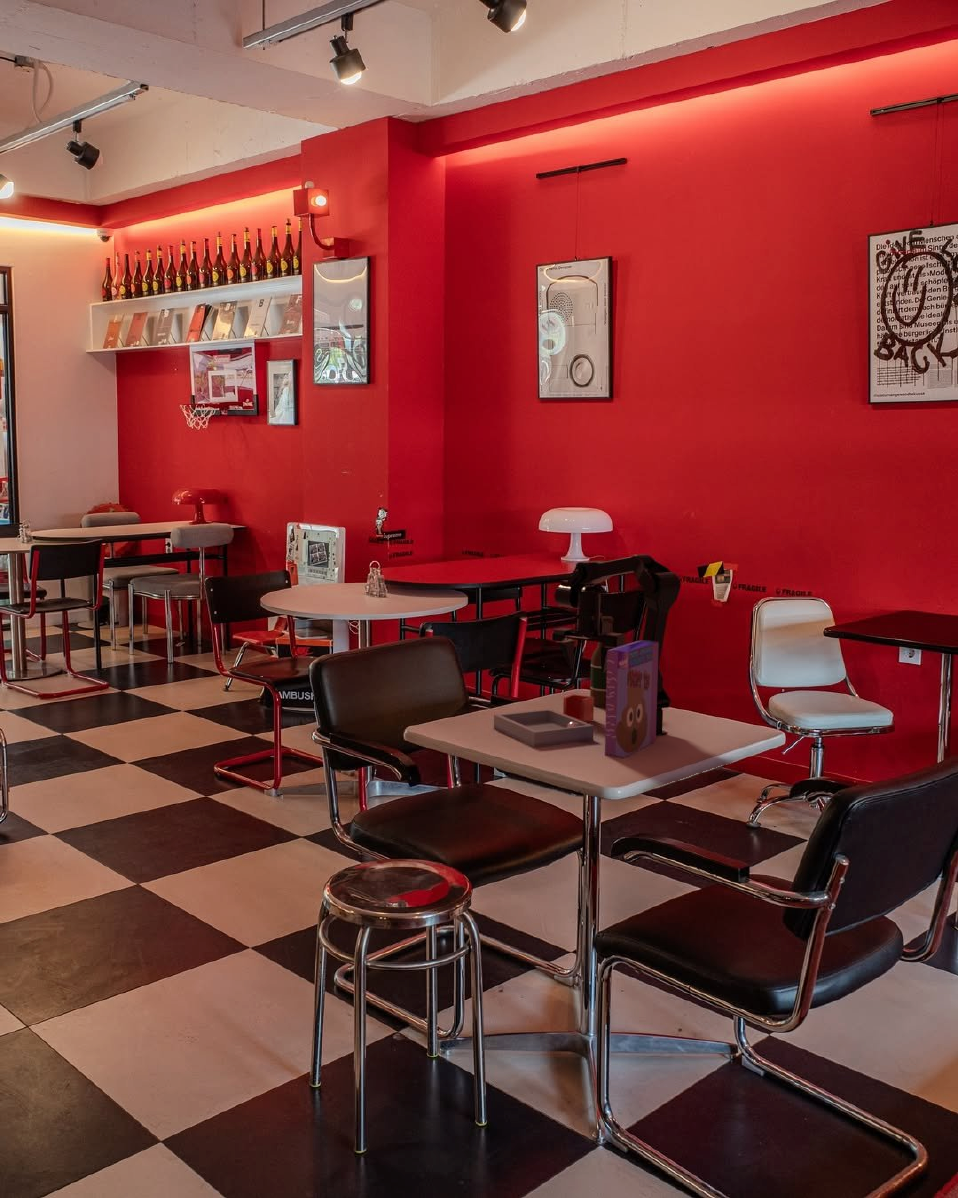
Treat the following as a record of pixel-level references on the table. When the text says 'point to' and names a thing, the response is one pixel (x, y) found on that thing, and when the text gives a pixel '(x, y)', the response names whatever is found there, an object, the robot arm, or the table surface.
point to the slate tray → (543, 727)
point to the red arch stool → (579, 707)
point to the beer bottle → (599, 673)
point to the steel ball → (572, 724)
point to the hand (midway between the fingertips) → (587, 670)
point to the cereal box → (631, 698)
